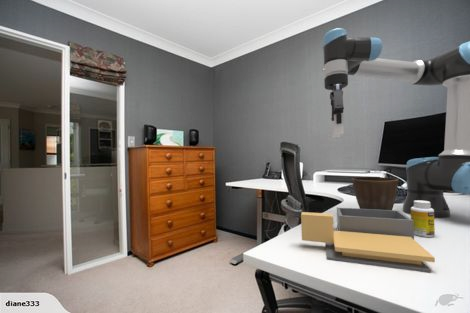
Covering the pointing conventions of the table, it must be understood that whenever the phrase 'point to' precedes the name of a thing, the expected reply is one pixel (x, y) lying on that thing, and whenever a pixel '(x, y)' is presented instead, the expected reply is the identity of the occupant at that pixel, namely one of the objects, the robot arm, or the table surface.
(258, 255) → the table surface
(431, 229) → the supplement bottle
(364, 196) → the plant pot
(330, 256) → the grey rubber mat
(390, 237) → the amber lid
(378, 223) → the charcoal tub
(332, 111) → the robot arm
